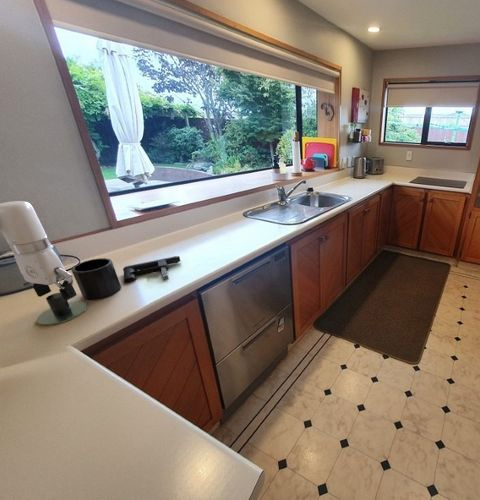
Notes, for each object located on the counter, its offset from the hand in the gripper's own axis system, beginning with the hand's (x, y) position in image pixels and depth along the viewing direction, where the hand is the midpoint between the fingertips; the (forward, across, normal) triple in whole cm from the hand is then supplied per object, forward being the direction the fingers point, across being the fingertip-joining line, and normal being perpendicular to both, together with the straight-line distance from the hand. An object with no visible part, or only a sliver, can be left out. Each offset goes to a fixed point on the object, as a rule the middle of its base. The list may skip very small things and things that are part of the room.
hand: (57, 295), depth 86 cm
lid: (+6, 0, -1) cm, 6 cm away
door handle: (+8, +6, +29) cm, 30 cm away
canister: (+7, 0, +12) cm, 14 cm away
